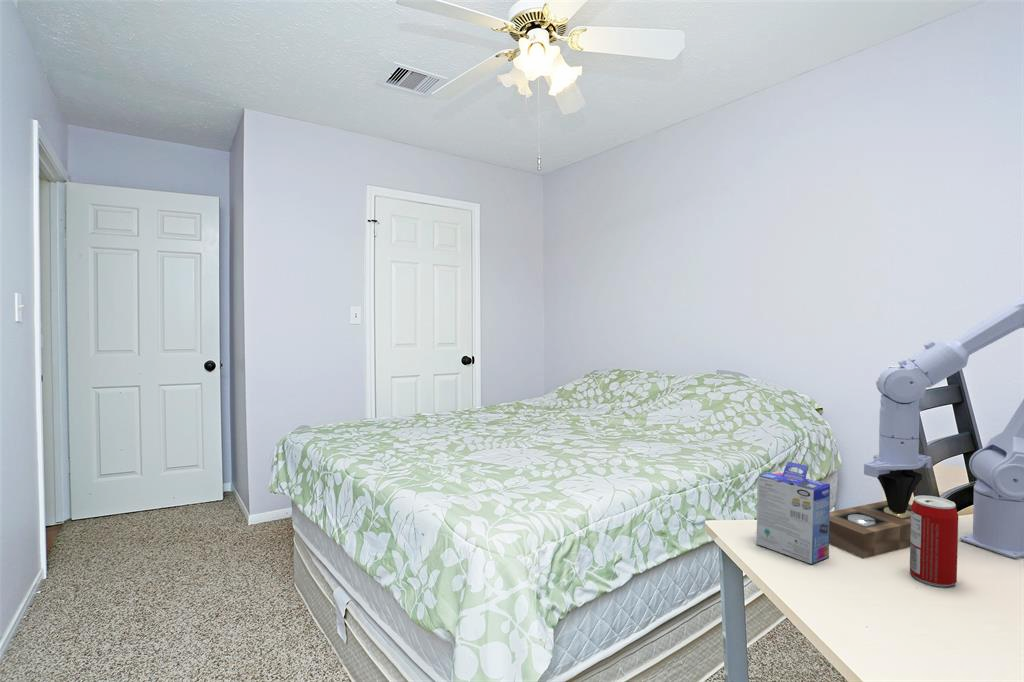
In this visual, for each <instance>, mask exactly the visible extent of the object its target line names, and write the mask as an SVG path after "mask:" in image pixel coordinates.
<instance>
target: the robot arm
mask: <svg viewBox="0 0 1024 682" xmlns="http://www.w3.org/2000/svg"><path fill="white" fill-rule="evenodd" d="M1019 329H1024V295H1022V296H1020V297H1017V298H1015V299H1014V300H1012V301H1011V302H1010V303H1008V304H1006V305H1005V306H1003V307H1001V308H999V310H997V311H996V312H994V313H993V314H991V315H990V316H988V317H987V318H985V319H983V320H982V321H981V322H979V323H977V324H976V325H975V326H973V327H971V328H970V329H968V330H967V331H965V332H964V333H963V334H961V335H958V337H956V338H955V339H954V340H949V339H947V340H946V339H938V340H937V341H935V342H934V341H932V340H929V341H928V342H926V343H924V345H923V347H924V348H923V349H922V350H920V351H919V352H917V353H915V354H913V355H912V356H911V357H909V358H907V359H904V358H901V359H899V361H897V364H898V365H899V366H894V367H893V366H891V367H889V368H887V369H884V370H883V371H882V372H881V373H880V374H879V377H878V378H877V380H876V381H875V385H876V388H877V390H878V391H879V393H880V394H881V395H880V401H879V402H880V407H879V427H878V428H879V429H878V430H879V437H878V438H879V439H878V440H879V441H878V442H879V443H878V454H874V455H873V460H871V461H869V462H865V463H864V464H863V475H865V476H868V477H872V478H877V480H878V482H879V484H880V485H881V488H882V490H883V493H884V495H885V499H886V501H887V503H888V507H889V510H891V511H894V512H897V513H905V512H906V510H907V507H908V504H910V501H911V498H912V496H913V493H914V491H915V489H916V488H917V486H918V485H919V483H920V482H921V481H922V480H923V474H922V473H921V472H917V471H914V470H917V469H921V468H926V469H930V468H932V456H929V455H925V454H924V455H923V454H920V440H919V439H920V400H921V399H922V398H923V397H924V395H926V394H925V393H926V390H927V388H931V387H933V386H935V385H937V384H939V383H940V382H942V381H944V380H945V379H947V378H949V377H950V376H952V375H954V374H956V373H957V372H959V371H961V370H962V369H964V368H966V367H967V366H968V362H969V361H968V360H969V357H970V356H971V355H972V354H974V353H976V352H978V351H980V350H982V349H984V348H985V347H987V346H989V345H991V344H993V343H994V342H995V343H996V342H997V341H999V340H1001V339H1003V338H1005V337H1006V336H1009V334H1011V333H1013V332H1015V331H1017V330H1019ZM968 466H969V467H968V468H969V470H970V471H971V473H972V475H973V476H974V477H975V478H976V482H975V484H974V485H973V507H972V508H973V510H972V533H970V534H965V535H963V536H962V535H961V536H959V540H960V541H963V542H965V543H968V544H971V545H974V546H977V547H979V548H982V549H985V550H989V551H992V552H995V553H997V554H1000V555H1004V556H1006V557H1009V558H1012V559H1019V558H1021V557H1024V398H1023V399H1022V401H1021V402H1020V404H1019V406H1018V407H1017V409H1016V411H1015V412H1014V414H1013V415H1012V417H1011V418H1010V420H1009V422H1008V423H1007V425H1006V427H1005V428H1004V429H1003V430H1002V432H1000V433H998V434H996V435H994V436H993V437H991V438H989V441H988V442H987V443H986V444H985V446H984V447H982V448H980V449H978V450H977V451H975V452H973V454H972V455H971V457H970V458H969V463H968Z"/></svg>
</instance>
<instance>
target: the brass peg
mask: <svg viewBox="0 0 1024 682" xmlns="http://www.w3.org/2000/svg"><path fill="white" fill-rule="evenodd" d="M884 512H885V513H888V514H891V515H894V516H897V517H900V518H905V517H910V516H911V512H910V511H908V510H906V512H905V513H897V512H894V511H891V510H889V507H886V508H884Z"/></svg>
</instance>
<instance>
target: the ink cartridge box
mask: <svg viewBox="0 0 1024 682" xmlns="http://www.w3.org/2000/svg"><path fill="white" fill-rule="evenodd" d="M785 464H786V465H785V467H784V469H783V472H779V471H769V472H766V473H763V474H760V475H758V476H757V492H756V493H757V494H756V495H757V497H756V498H757V501H756V502H757V503H756V536H755V537H756V539H755V540H756V541H755V542H756V545H758V546H762V547H763V548H767V549H769V550H772V551H775V552H777V553H779V554H783V555H785V556H788V557H791V558H794V559H796V560H799V561H803V563H807V564H810V565H813V564H815V563H818V562H820V561H822V560H825V559H828V558H830V544H829V513H830V512H831V511H830V506H831V505H830V504H831V503H830V502H831V501H830V500H831V483H828V482H823V481H819V480H815V479H810V478H807V474H808V470H809V465H804V464H800V463H796V462H791V461H787V463H785ZM790 468H797V469H800V470H801V471H802V473H799V472H796V471H792V470H790Z"/></svg>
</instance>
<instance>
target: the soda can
mask: <svg viewBox="0 0 1024 682" xmlns="http://www.w3.org/2000/svg"><path fill="white" fill-rule="evenodd" d="M911 505H912V506H911V535H910V547H909V548H910V549H909V572H910V573H911V575H912V576H913V577H914V578H915V579H916V580H917V581H919V582H921V583H924V584H927V585H930V586H934V587H942V588H944V587H945V588H948V587H952V586H953V585H954V584H956V583H957V579H958V578H957V577H958V549H959V548H958V544H959V514H958V510H957V505H956V503H955V502H954V501H951V500H949V499H947V498H943V497H939V496H934V495H916V496H914V497H913V501H912V503H911Z"/></svg>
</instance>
